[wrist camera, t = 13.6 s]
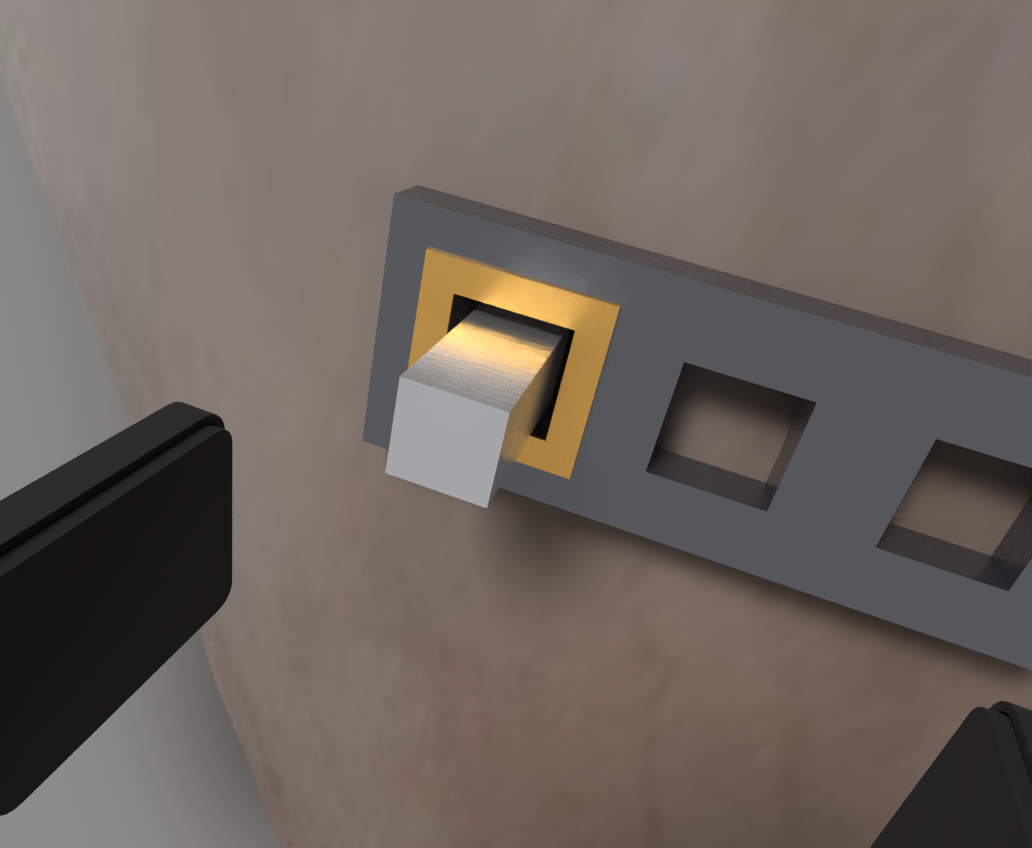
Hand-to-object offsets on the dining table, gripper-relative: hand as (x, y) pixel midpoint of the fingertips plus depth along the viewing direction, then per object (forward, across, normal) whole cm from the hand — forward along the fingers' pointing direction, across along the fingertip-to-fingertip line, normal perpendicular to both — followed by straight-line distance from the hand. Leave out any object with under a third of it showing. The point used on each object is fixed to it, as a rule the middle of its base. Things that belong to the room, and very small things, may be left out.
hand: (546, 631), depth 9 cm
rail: (+25, -3, +8) cm, 26 cm away
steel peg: (+24, +7, +8) cm, 26 cm away
